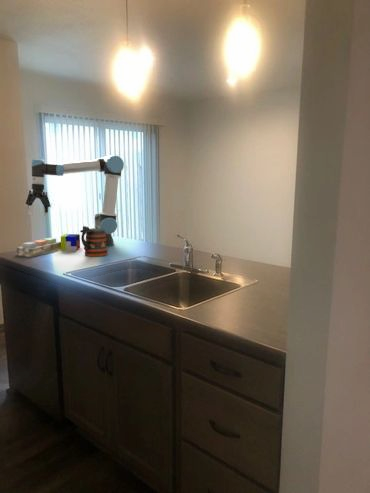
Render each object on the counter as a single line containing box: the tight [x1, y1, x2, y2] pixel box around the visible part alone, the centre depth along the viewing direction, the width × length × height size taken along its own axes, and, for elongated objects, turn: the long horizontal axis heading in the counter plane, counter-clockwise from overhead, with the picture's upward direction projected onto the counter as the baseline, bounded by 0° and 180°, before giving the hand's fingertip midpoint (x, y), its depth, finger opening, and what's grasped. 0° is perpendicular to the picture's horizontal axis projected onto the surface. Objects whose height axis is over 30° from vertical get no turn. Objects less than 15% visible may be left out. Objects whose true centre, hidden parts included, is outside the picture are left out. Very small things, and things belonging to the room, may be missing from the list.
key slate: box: [21, 241, 37, 248], centre depth 244 cm, size 6×6×4 cm
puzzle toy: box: [60, 233, 81, 252], centre depth 262 cm, size 10×10×10 cm
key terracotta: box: [32, 239, 47, 246], centre depth 252 cm, size 6×6×4 cm
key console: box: [16, 240, 61, 258], centre depth 253 cm, size 12×28×5 cm, turn 158°
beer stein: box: [80, 225, 109, 258], centre depth 245 cm, size 19×15×20 cm
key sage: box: [42, 237, 57, 244], centre depth 260 cm, size 6×6×4 cm
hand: (37, 216), depth 248 cm, fingers open, 13 cm apart
